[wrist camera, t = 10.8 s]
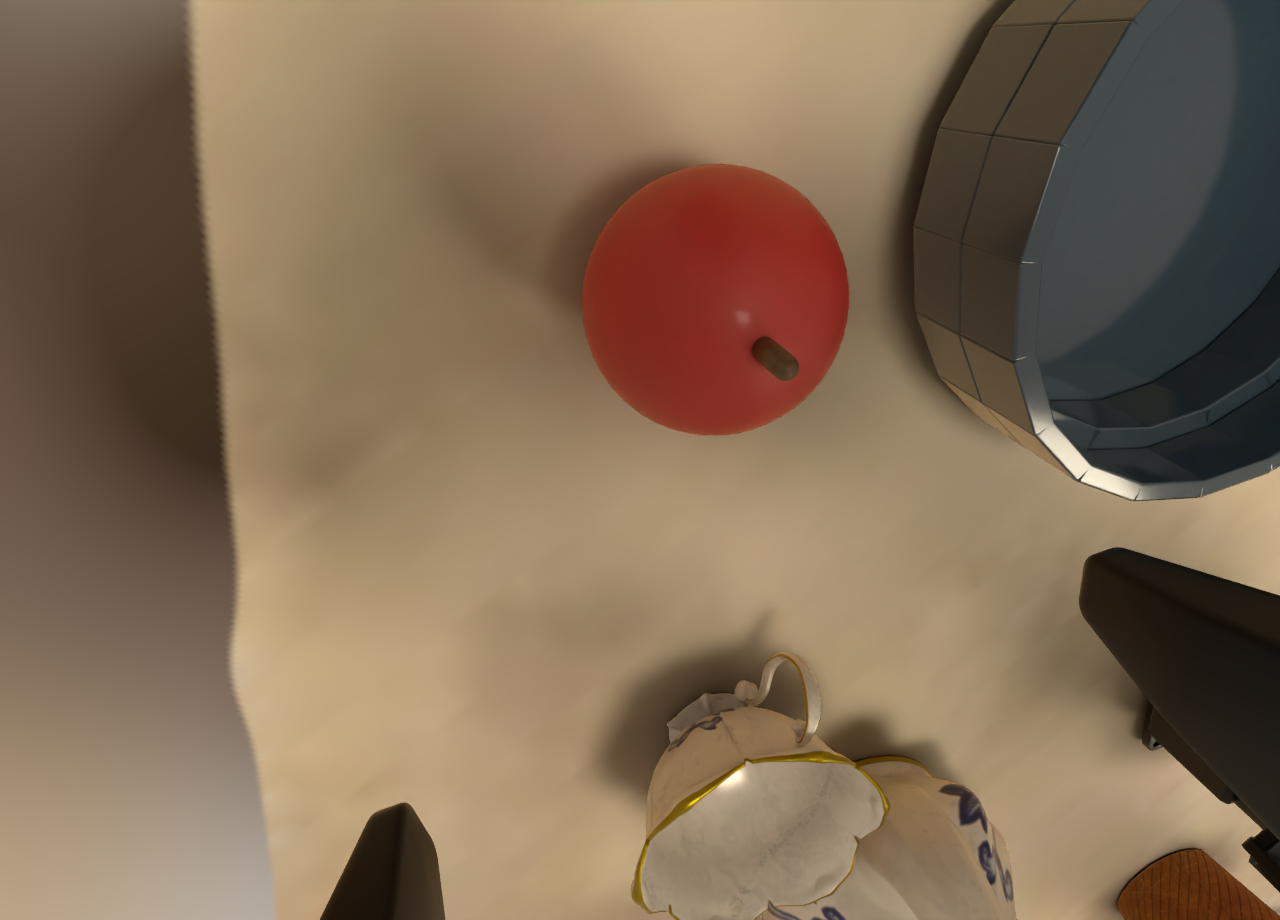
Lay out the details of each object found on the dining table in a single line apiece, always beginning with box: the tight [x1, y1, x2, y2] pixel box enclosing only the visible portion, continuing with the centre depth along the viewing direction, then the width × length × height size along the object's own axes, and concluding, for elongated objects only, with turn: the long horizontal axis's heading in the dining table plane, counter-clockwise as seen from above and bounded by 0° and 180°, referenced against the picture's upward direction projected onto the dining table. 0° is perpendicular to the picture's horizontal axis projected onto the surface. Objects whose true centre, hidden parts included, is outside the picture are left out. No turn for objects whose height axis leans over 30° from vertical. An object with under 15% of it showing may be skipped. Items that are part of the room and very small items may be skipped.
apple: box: [582, 164, 849, 435], centre depth 16 cm, size 6×6×7 cm
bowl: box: [913, 0, 1280, 501], centre depth 20 cm, size 15×15×5 cm
